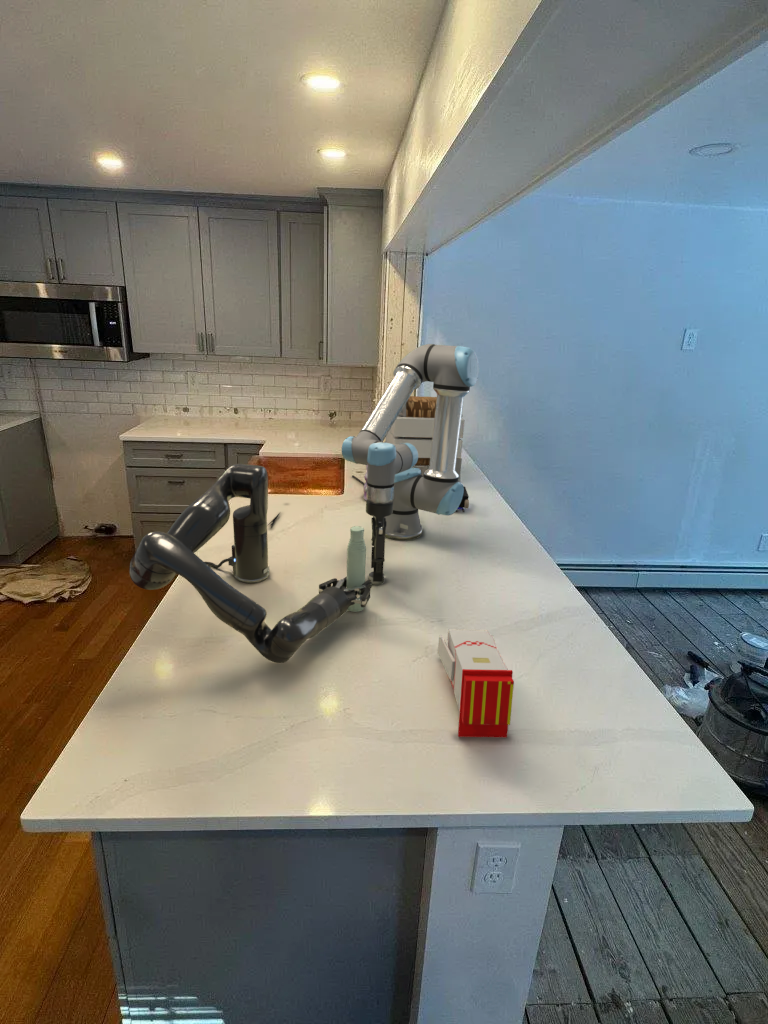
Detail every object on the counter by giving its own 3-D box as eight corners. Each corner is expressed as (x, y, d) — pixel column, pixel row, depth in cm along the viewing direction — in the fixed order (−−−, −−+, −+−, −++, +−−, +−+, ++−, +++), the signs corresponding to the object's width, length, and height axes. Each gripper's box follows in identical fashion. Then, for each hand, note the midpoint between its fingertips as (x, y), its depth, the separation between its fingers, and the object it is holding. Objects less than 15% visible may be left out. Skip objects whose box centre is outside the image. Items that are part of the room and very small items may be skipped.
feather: (287, 506, 225) (290, 502, 224) (270, 530, 198) (272, 526, 198) (283, 504, 225) (286, 500, 224) (265, 527, 198) (268, 523, 197)
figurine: (367, 502, 230) (368, 467, 225) (357, 495, 238) (358, 460, 233) (388, 500, 234) (389, 465, 229) (377, 492, 242) (378, 458, 237)
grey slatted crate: (382, 463, 289) (386, 382, 275) (445, 464, 293) (451, 384, 279) (390, 482, 257) (394, 392, 243) (460, 483, 261) (468, 394, 247)
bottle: (344, 603, 151) (346, 525, 144) (361, 602, 153) (364, 524, 145) (348, 612, 147) (349, 532, 139) (365, 610, 148) (368, 531, 141)
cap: (373, 586, 162) (374, 579, 161) (365, 579, 165) (365, 573, 164) (387, 582, 164) (387, 576, 163) (378, 576, 168) (378, 569, 167)
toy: (488, 613, 130) (523, 677, 101) (484, 667, 133) (517, 744, 104) (435, 612, 130) (455, 676, 101) (432, 666, 133) (451, 743, 103)
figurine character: (469, 517, 223) (463, 501, 236) (471, 500, 219) (465, 484, 233) (452, 516, 222) (447, 500, 236) (454, 499, 219) (449, 483, 232)
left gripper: (301, 613, 140) (337, 586, 154) (351, 630, 134) (384, 600, 148) (300, 586, 137) (338, 561, 152) (352, 601, 131) (385, 574, 146)
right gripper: (364, 487, 166) (362, 558, 173) (368, 512, 146) (365, 591, 154) (389, 488, 166) (386, 559, 174) (397, 512, 147) (393, 591, 154)
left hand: (360, 580), depth 150 cm, fingers closed on bottle, 4 cm apart
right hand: (376, 574), depth 164 cm, fingers open, 8 cm apart
